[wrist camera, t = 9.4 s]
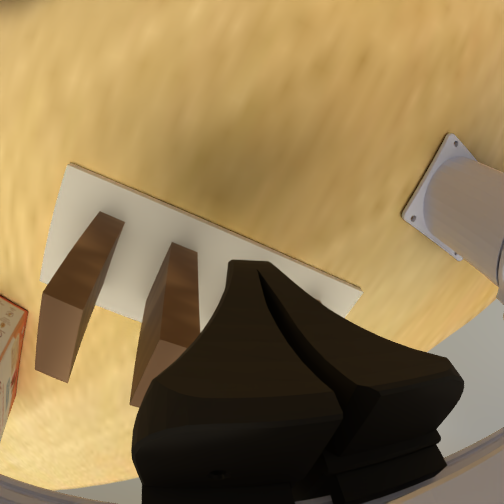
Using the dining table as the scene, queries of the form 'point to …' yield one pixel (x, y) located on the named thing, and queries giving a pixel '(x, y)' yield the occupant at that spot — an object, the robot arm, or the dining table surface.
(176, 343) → the brown wooden block
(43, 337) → the brown wooden block
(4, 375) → the cracker box
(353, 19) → the dining table surface
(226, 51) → the dining table surface
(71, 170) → the mat
